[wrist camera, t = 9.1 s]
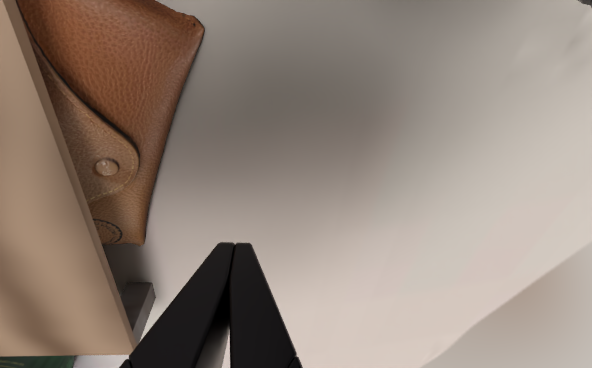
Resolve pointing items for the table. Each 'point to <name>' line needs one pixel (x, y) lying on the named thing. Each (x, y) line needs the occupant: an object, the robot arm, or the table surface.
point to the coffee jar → (37, 361)
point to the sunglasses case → (113, 96)
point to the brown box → (51, 228)
